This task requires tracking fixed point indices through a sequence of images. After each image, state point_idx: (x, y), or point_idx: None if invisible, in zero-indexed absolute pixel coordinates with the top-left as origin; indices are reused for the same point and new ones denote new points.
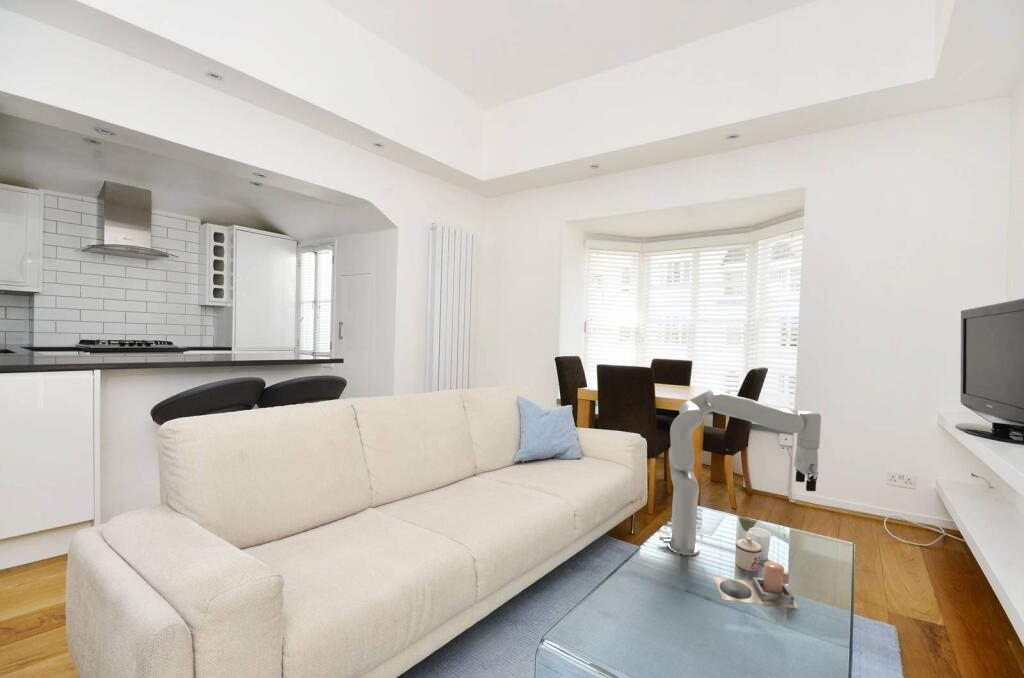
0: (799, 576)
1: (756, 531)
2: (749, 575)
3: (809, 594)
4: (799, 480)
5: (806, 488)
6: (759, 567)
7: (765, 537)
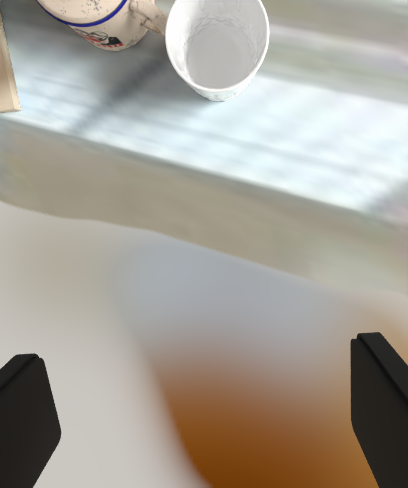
0: (116, 182)
1: (263, 35)
2: None
3: (16, 181)
4: (358, 380)
5: (5, 367)
6: (88, 40)
7: (170, 58)
